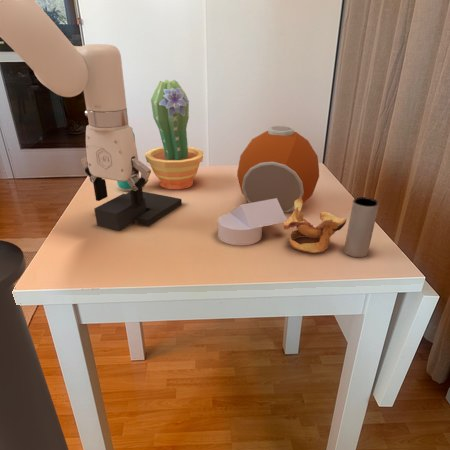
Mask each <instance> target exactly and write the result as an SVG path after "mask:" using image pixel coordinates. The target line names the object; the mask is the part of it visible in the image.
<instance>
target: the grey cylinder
mask: <svg viewBox="0 0 450 450" xmlns="http://www.w3.org/2000/svg"><path fill="white" fill-rule="evenodd" d="M351 205H352V206H351V209H350V210H351V211H350V214H349V220H348V224H347V225H348V226H347V231H346V237H345V242H344V248H343V251H344V253H345V254H346V255H348V256H350V257H353V258H364V257H367V256H368V254H369V251H370V246H371V242H372V237H373V231H374V229H375V223H376V219H377V215H378V211H379V206H380V202H379V201H378V200H377V199H375V198H372V197H367V196H361V197H355V198H354V199H353V200H352V204H351Z"/></svg>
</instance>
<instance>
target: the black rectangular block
mask: <svg viewBox="0 0 450 450" xmlns="http://www.w3.org/2000/svg"><path fill="white" fill-rule="evenodd" d="M93 209H94V215H95V221H96V226H98V227H101V228H104V229H108V230H113V231H117V232H120V231H122V230H125V228H127V227H130V225H132V224H133V223H135V222H138V221H137V217H139V216H141V215H142V214H144V213H146V204H145V198H143V205H142V206H140V207H138V208H136V209H133V208H132V203H131V195H128V194H126V193H122V194H120V195H118V196H116V197H114V198H112V199H110V200H108V201H106V202H104V203H102V204H100V205H98V206H96V207H94V208H93Z"/></svg>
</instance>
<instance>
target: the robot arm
mask: <svg viewBox="0 0 450 450" xmlns="http://www.w3.org/2000/svg"><path fill="white" fill-rule="evenodd" d="M0 38H1V39H2V41H4V42H5V43H6V44H7V45H8V46H9V47H10V48H11V49H12V50H13V51H14V52H15V53H16V54H17V56H19V58H20V59H21V60H22V61H23V62H24V63H25V64H26V65H27V66H28V67H29V68H30V69H31V70H32V71H33V73H34V76H35V77H36V79H37V81H39V82H40V84H42V85H43V86H44V87H46V89H48V90H50V91H51V92H52V93H54V94H56V95H57V96H60V97H64V98H72V97H76V96H78V95H81V93H82V92H83V96H84V102H85V103H84V104H85V111H84V115H85V117H86V118H87V119H88V120H87V121H88V124H87V125H86V126H85V150H86V155H85V156H84V157H82V158H80V160H79V161H80V163H81V165H82V167H83V169H84V172H85V174H86V175H87V176H88V177H89V181H90V182H91V183H92V184H93V185H92V186H93V191H94V196H95V197H94V198H95V201H97V202H100V201H103V200H105V199H106V198H108V197H109V196H108V195H109V194H108V190H107V182H106V180H111V181H114V182H115V181H116V182H117V181H122V182H123V181H127V182H128V184H129V185H130V186H131V188H132V189H133V190H131V191H129V192H130V195H131V203H132V208H133V209H136V208H138V207H140V206H142V205H143V192H144V191H143V188H145V186H146V185H147V183H148V182H149V179H150V176H151V174H152V169H151V168H149V166H147V165H146V164H144V163H143V162H141V161H140V160H139V155H138V149H137V144H136V139H135V140H134V136H135V135H134V136H133V133H134V131H133V128H132V129H131V127H132V126H131V125H130V124H129V117H128V108H127V99H126V97H127V96H126V89H125V81H124V71H123V62H122V55H121V51H120V49H119V48H118V47H116V46H115V45H113V44H108V43H107V44H106V43H104V44H103V43H102V44H101V43H94V44H93V43H92V44H91V43H89V44H84V45H80V46H78V45H74V44H72V42H71V41H70V40H69V39H68V37H67V36H66V35H65V34H64V33H63V31H62V30H61V29H60V28H59V27H58V26H57V24H56V23H55V21H53V19H51V18H50V16H49V15H48V14H47V13H46V11H45V10H44V9H43V8H42V7H41V6H40V5H39V4H38V3H37V2H36V1H35V0H0ZM132 131H133V132H132ZM138 174H139V175H138ZM133 179H134V180H135V181H136V183H135V182H134V180H133ZM142 191H143V192H142Z"/></svg>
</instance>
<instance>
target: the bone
mask: <svg viewBox="0 0 450 450" xmlns="http://www.w3.org/2000/svg"><path fill="white" fill-rule="evenodd" d="M303 205H304V204H303V200H302V199H301V198H299V199H297V200H296V201H295V202H294V209H295V210H294V211H292V214H291V215H290V217H289V218H288V219H287V221H286V222H283V230H289V229H290V228H296V229H295V230H293V231H292V232H291V233H290V237H289V240H288V243H289V247H290V248H292V249H294V250H296V251H300V252H302V253H309V255H312V254H319V253H320V254H321V253H324V252H326V251H328V249H330V239H331V237H332V236H333V235H335V233H337V231H340V230H342V229H343V227H344V226H345V225H346V224H347V218H339V217H336V216H335V215H334V214H332V213H330V212H328V211H320V212H319V213H318V215H319V219H320V220H321V223H319V224H318V225H317V226H315V227H314V224H311V223H310V222H309V221H307V219H306V218H304V216H305V214H304V213H303V212H302V208H303ZM299 237H307V238H309V239H318V240H319V241H317V242H309V243H307V242H305V243H298V242H297V241H295V240H294V239H295V238H299Z"/></svg>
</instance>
